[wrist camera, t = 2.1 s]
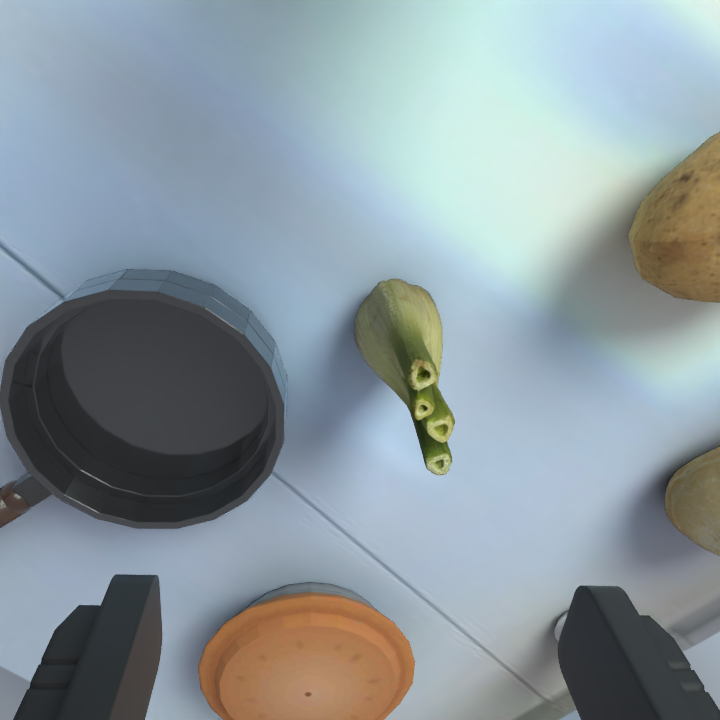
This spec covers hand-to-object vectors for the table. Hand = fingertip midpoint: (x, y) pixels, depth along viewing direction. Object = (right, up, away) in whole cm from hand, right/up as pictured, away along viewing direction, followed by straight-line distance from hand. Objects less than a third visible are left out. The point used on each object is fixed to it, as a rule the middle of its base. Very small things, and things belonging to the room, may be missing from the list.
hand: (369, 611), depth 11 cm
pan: (-12, +3, +25) cm, 28 cm away
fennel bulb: (+2, +7, +24) cm, 26 cm away
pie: (-4, -16, +35) cm, 39 cm away
